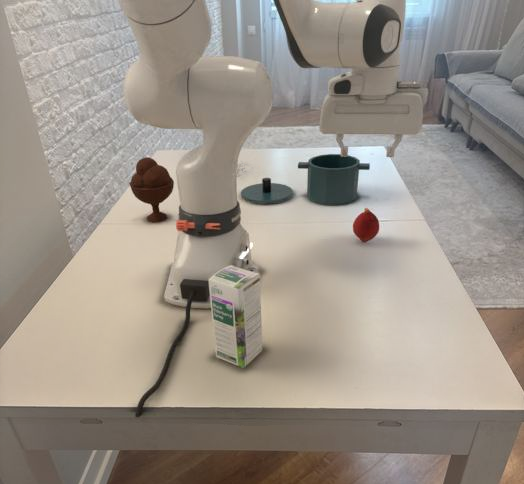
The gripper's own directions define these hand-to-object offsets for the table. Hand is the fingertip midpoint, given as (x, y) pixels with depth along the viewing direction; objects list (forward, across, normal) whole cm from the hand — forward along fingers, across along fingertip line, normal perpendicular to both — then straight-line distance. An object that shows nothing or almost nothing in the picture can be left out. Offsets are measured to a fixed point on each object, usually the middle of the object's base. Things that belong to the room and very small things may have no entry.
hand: (366, 156), depth 102 cm
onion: (+19, -1, +1) cm, 19 cm away
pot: (+19, +8, -28) cm, 34 cm away
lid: (+18, +26, -27) cm, 41 cm away
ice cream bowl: (+19, +52, -8) cm, 56 cm away
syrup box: (+19, +19, +46) cm, 53 cm away
